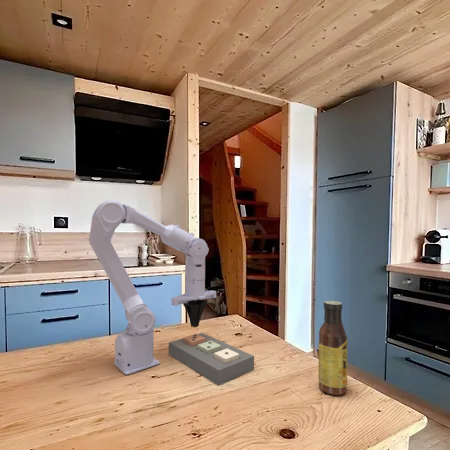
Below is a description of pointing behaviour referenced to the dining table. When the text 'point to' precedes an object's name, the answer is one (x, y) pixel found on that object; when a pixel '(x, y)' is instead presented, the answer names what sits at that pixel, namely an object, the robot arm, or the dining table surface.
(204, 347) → the tile two
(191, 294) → the robot arm
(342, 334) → the sauce bottle
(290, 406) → the dining table surface
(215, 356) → the tile one
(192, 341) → the tile three
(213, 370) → the tile tray
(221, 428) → the dining table surface
